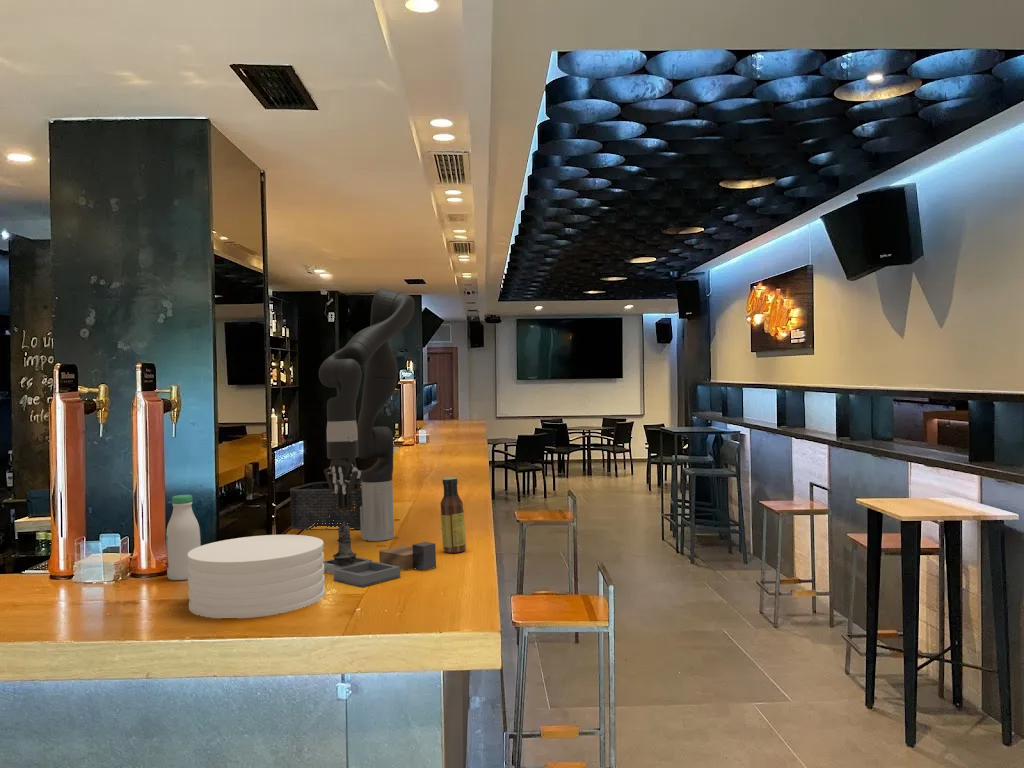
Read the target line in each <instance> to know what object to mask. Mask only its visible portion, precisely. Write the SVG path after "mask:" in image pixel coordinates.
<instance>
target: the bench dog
mask: <svg viewBox="0 0 1024 768" xmlns="http://www.w3.org/2000/svg"><path fill="white" fill-rule="evenodd" d="M411 547H412V548H413V568H416V569H415V570H417V569H421V570H420V571H422V570H426V571H428V570H427V569H430V568H433V567H436V568H437V555H436V554H437V553H436V551H437V550H436V543H434V542H429V541H423V542H418V543H413V544H412V546H411ZM433 569H434V568H433ZM430 570H431V569H430Z"/></svg>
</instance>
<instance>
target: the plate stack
mask: <svg viewBox="0 0 1024 768" xmlns="http://www.w3.org/2000/svg"><path fill="white" fill-rule="evenodd" d="M324 545H325V544H324V540H323V539H321V538H319V537H316V536H312V535H311V536H310V535H303V534H301V535H300V534H265V535H263V534H262V535H253V536H243V537H237V538H230V539H223V540H218V541H214V542H210V543H209V542H208V543H206V544H203V545H202V544H201V546H199V547H197V548H194V549H192V550H191V551H189V552H188V554H187V560H188V562H189V563H190V564H189V565H188V574H189V575H190V576H189V577H188V579H187V585H188V587H189V588H188V591H187V592H188V599H189V601H188V609H189V612H191V613H192V614H194V615H196V616H199V615H200V617H203V616H204V617H205V618H209V617H210V618H209V619H221V618H238V619H250V618H251V619H252V618H261V617H269V616H273V615H274V616H275V615H279V613H281V614H284V613H289V611H290V612H293V610H294V611H298V610H301V609H304V608H307V607H309V606H312V605H314V604H316V603H318V602H319V601H321V600H322V599H323V598H325V596H326V587H325V583H326V581H325V579H326V578H325V574H324V573H325V572H324V564H323V563H322V562H323V561H325V553H324ZM320 599H321V600H320ZM317 601H318V602H317ZM315 602H316V603H315ZM313 603H314V604H313ZM311 604H312V605H311ZM306 606H307V607H306ZM303 607H304V608H303ZM300 608H301V609H300ZM204 617H203V618H204Z"/></svg>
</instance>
